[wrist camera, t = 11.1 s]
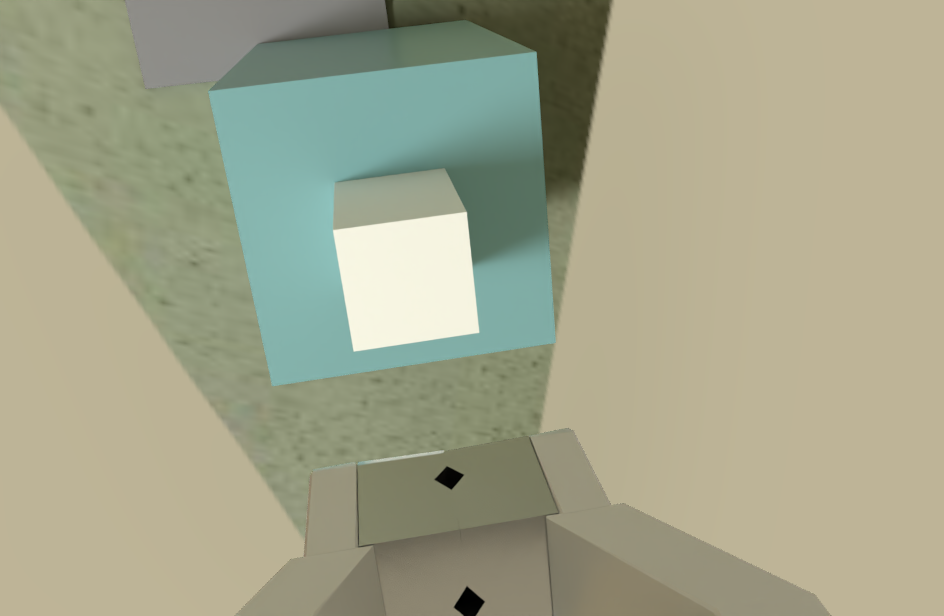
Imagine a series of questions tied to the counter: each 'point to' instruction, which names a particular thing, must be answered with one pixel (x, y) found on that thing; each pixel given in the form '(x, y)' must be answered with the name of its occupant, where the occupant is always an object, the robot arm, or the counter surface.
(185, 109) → the counter surface
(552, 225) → the counter surface
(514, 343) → the cover
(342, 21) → the mat
